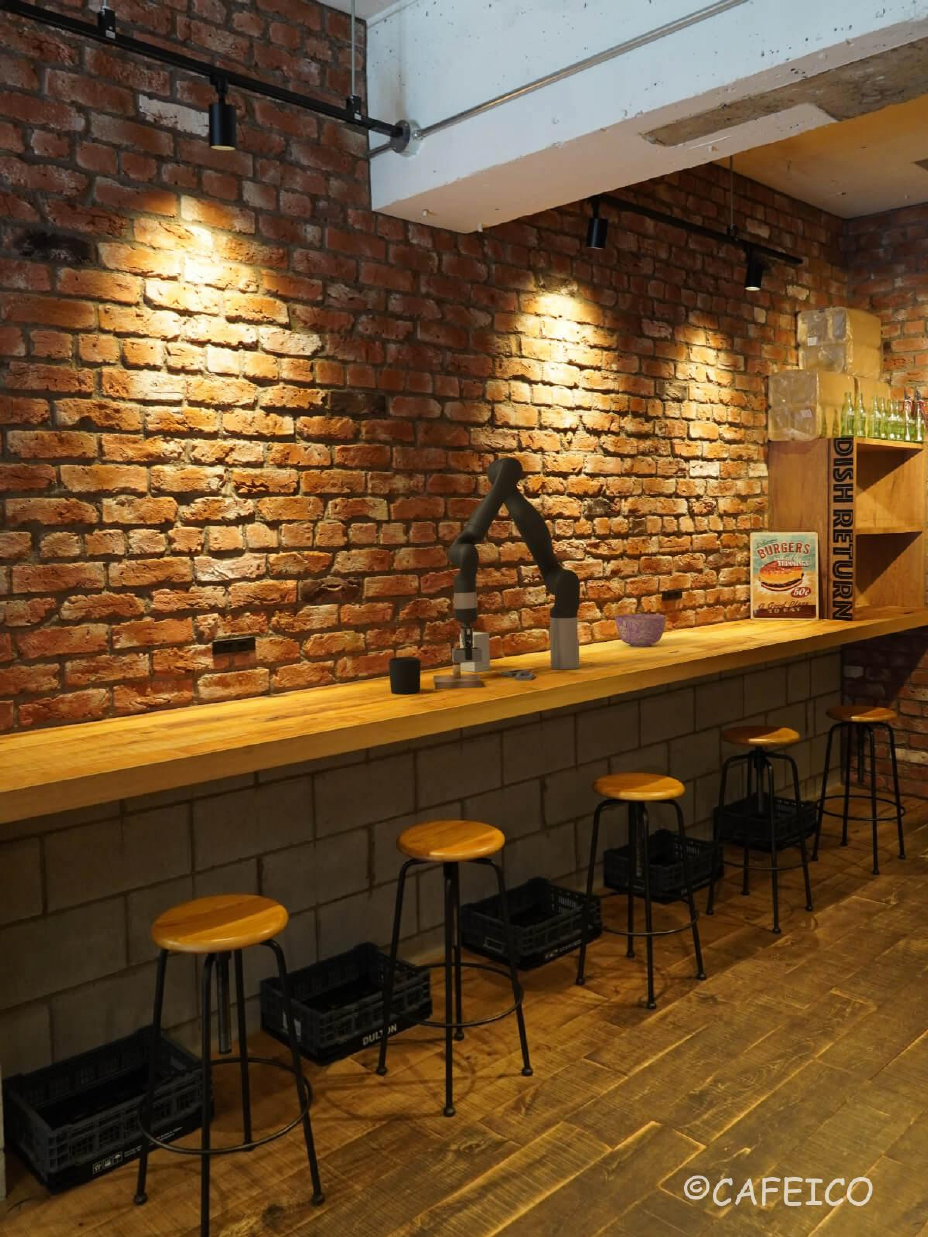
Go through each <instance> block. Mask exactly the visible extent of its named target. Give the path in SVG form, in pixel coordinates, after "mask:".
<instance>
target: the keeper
mask: <svg viewBox="0 0 928 1237" xmlns="http://www.w3.org/2000/svg"><path fill="white" fill-rule="evenodd" d="M432 677H433V686H434V689H435V690H438V689H439V690H441V689H443V690H444V689H445V690H446V689H470V688H471V689H472V688H473V689H474V688H475V689H476V688H482V686H483V683H482V679H481V678H480V676H479V674H478V673H474V674H473V673H472V674H471V673H470V674H462V671H461V664H453V665H452V674H444V675H442V674H441V675H433V676H432Z"/></svg>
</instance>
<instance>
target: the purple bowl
mask: <svg viewBox="0 0 928 1237" xmlns="http://www.w3.org/2000/svg"><path fill="white" fill-rule="evenodd" d="M614 620H615V624H616V629H617V632H618V635H619V638H620V639H621V641H622V642H623V643H624V644H627V645H629V646H630V647H631V648H632V647H633V648H647V647H648V648H649V647H652V645H654V644H656V643H658V642H659V641H660V640H661V638H662V637H663V633H664V630H665V626H666V620H667V616H666V615H663V614H651V613H650V614H647V613H642V614H641V613H640V614H639V613H637V614H634V613H633V614H621V615H615V616H614Z"/></svg>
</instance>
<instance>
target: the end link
mask: <svg viewBox="0 0 928 1237" xmlns="http://www.w3.org/2000/svg"><path fill="white" fill-rule="evenodd" d="M451 656H452V657H451V660H452V662H453V664H461V663H467V662H482V649H481V648H480V647H472V660H466V659H465V648H460V647H455V648H451Z"/></svg>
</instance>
